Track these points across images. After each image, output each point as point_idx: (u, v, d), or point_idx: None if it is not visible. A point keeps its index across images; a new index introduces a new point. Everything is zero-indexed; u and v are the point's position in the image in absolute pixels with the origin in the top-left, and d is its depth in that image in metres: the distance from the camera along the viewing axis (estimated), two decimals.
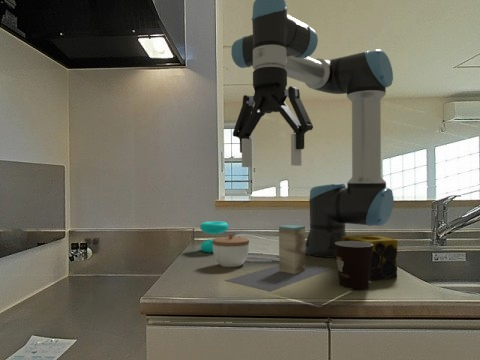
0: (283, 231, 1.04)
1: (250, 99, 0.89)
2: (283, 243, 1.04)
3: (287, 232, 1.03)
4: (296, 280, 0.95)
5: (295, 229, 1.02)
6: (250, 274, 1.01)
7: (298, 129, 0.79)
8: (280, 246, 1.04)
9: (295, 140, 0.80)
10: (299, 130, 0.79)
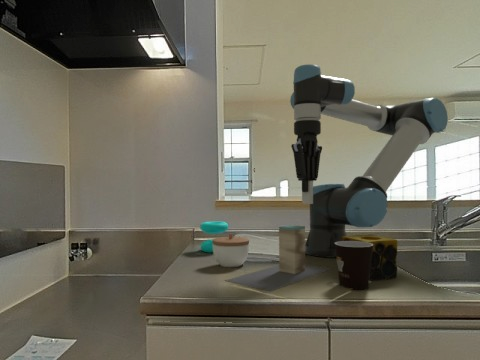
0: (283, 231, 1.04)
1: None
2: (283, 243, 1.04)
3: (287, 232, 1.03)
4: (296, 280, 0.95)
5: (295, 229, 1.02)
6: (250, 274, 1.01)
7: (299, 179, 1.10)
8: (280, 246, 1.04)
9: None
10: (301, 180, 1.10)
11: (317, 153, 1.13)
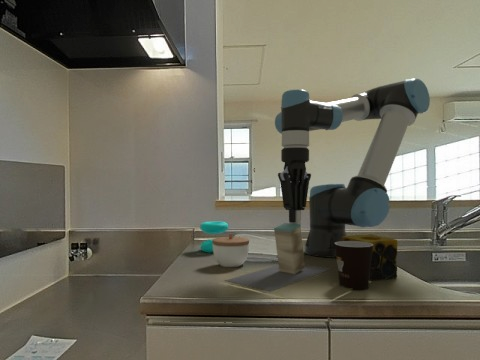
0: (279, 233, 1.02)
1: None
2: (280, 244, 1.03)
3: (283, 234, 1.01)
4: (296, 280, 0.95)
5: (290, 230, 1.00)
6: (250, 274, 1.01)
7: (286, 209, 1.06)
8: (277, 247, 1.03)
9: None
10: (288, 209, 1.06)
11: (305, 181, 1.09)
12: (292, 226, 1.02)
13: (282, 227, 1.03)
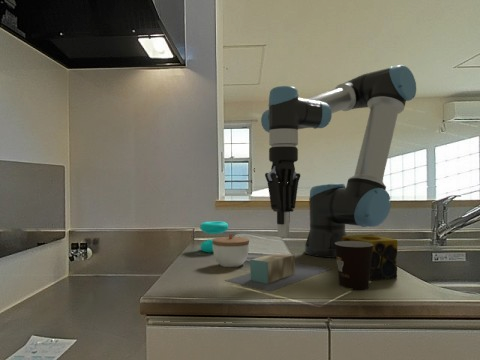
0: None
1: None
2: None
3: None
4: (296, 280, 0.95)
5: (267, 281, 0.93)
6: (250, 274, 1.01)
7: (275, 210, 1.02)
8: None
9: None
10: (276, 211, 1.01)
11: (294, 181, 1.04)
12: (263, 271, 0.93)
13: (256, 276, 0.94)
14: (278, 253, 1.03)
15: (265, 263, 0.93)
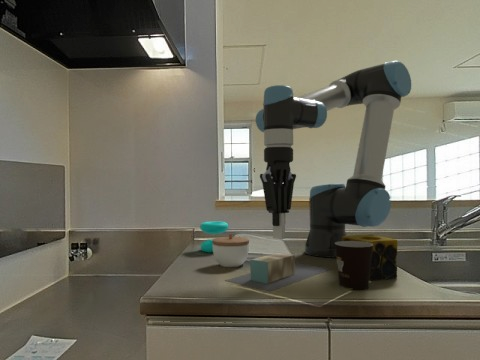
0: None
1: None
2: None
3: None
4: (296, 280, 0.95)
5: (267, 281, 0.93)
6: (250, 274, 1.01)
7: (270, 211, 1.00)
8: None
9: None
10: (271, 212, 1.00)
11: (290, 182, 1.03)
12: (263, 271, 0.93)
13: (256, 276, 0.94)
14: (278, 253, 1.03)
15: (265, 263, 0.93)
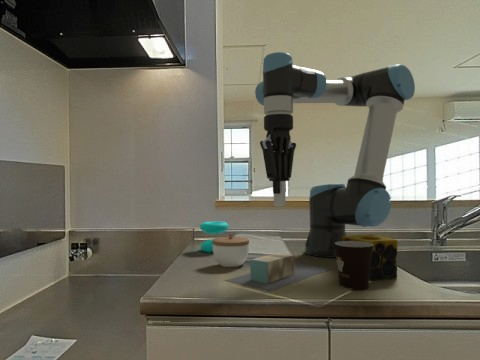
0: None
1: None
2: None
3: None
4: (296, 280, 0.95)
5: (267, 281, 0.93)
6: (250, 274, 1.01)
7: (270, 179, 1.00)
8: None
9: None
10: (272, 180, 1.00)
11: (290, 150, 1.03)
12: (263, 271, 0.93)
13: (256, 276, 0.94)
14: (278, 253, 1.03)
15: (265, 263, 0.93)
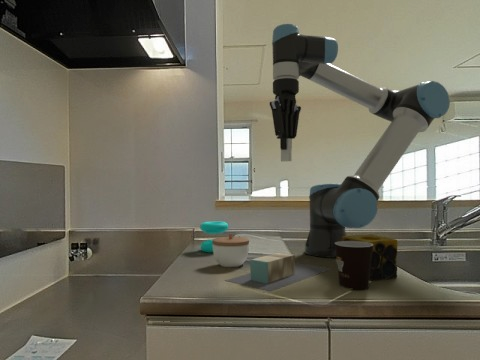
0: None
1: None
2: None
3: None
4: (296, 280, 0.95)
5: (267, 281, 0.93)
6: (250, 274, 1.01)
7: (278, 137, 1.13)
8: None
9: None
10: (279, 137, 1.13)
11: (296, 113, 1.16)
12: (263, 271, 0.93)
13: (256, 276, 0.94)
14: (278, 253, 1.03)
15: (265, 263, 0.93)
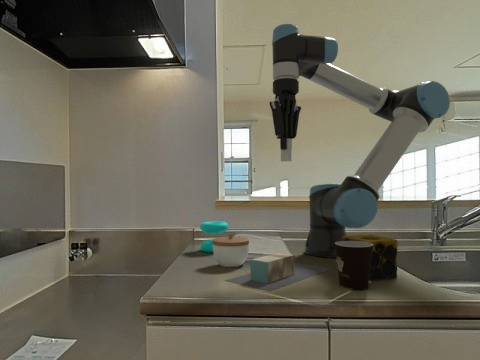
0: None
1: None
2: None
3: None
4: (296, 280, 0.95)
5: (267, 281, 0.93)
6: (250, 274, 1.01)
7: (278, 137, 1.13)
8: None
9: None
10: (279, 137, 1.13)
11: (296, 113, 1.16)
12: (263, 271, 0.93)
13: (256, 276, 0.94)
14: (278, 253, 1.03)
15: (265, 263, 0.93)
